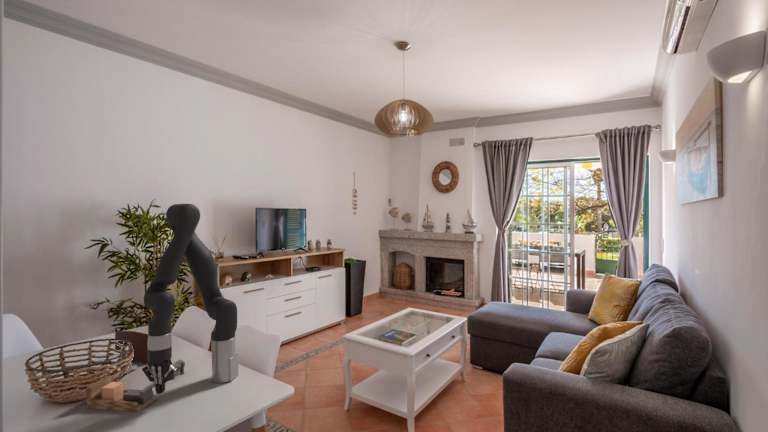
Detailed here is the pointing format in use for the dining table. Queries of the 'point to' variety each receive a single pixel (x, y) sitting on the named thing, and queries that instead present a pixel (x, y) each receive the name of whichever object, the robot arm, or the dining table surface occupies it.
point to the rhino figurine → (179, 365)
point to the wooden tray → (98, 403)
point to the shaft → (138, 395)
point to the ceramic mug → (131, 367)
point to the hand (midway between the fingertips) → (160, 392)
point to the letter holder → (135, 344)
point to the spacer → (113, 391)
